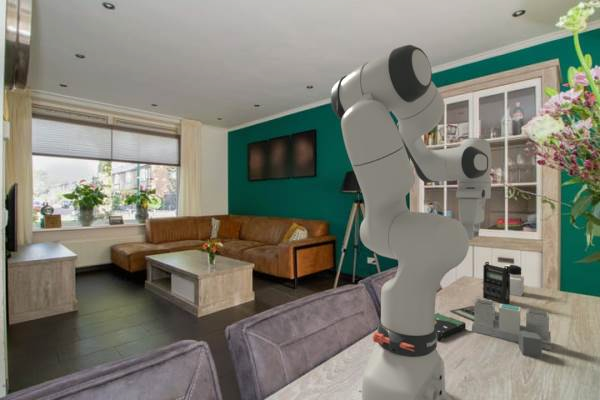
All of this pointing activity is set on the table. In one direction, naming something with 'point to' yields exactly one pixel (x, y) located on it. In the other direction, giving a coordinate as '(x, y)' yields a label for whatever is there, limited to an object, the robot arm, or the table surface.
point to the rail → (490, 326)
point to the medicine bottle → (516, 280)
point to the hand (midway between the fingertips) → (472, 238)
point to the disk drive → (447, 326)
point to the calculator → (469, 313)
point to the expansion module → (509, 318)
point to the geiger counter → (496, 283)
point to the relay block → (530, 344)
